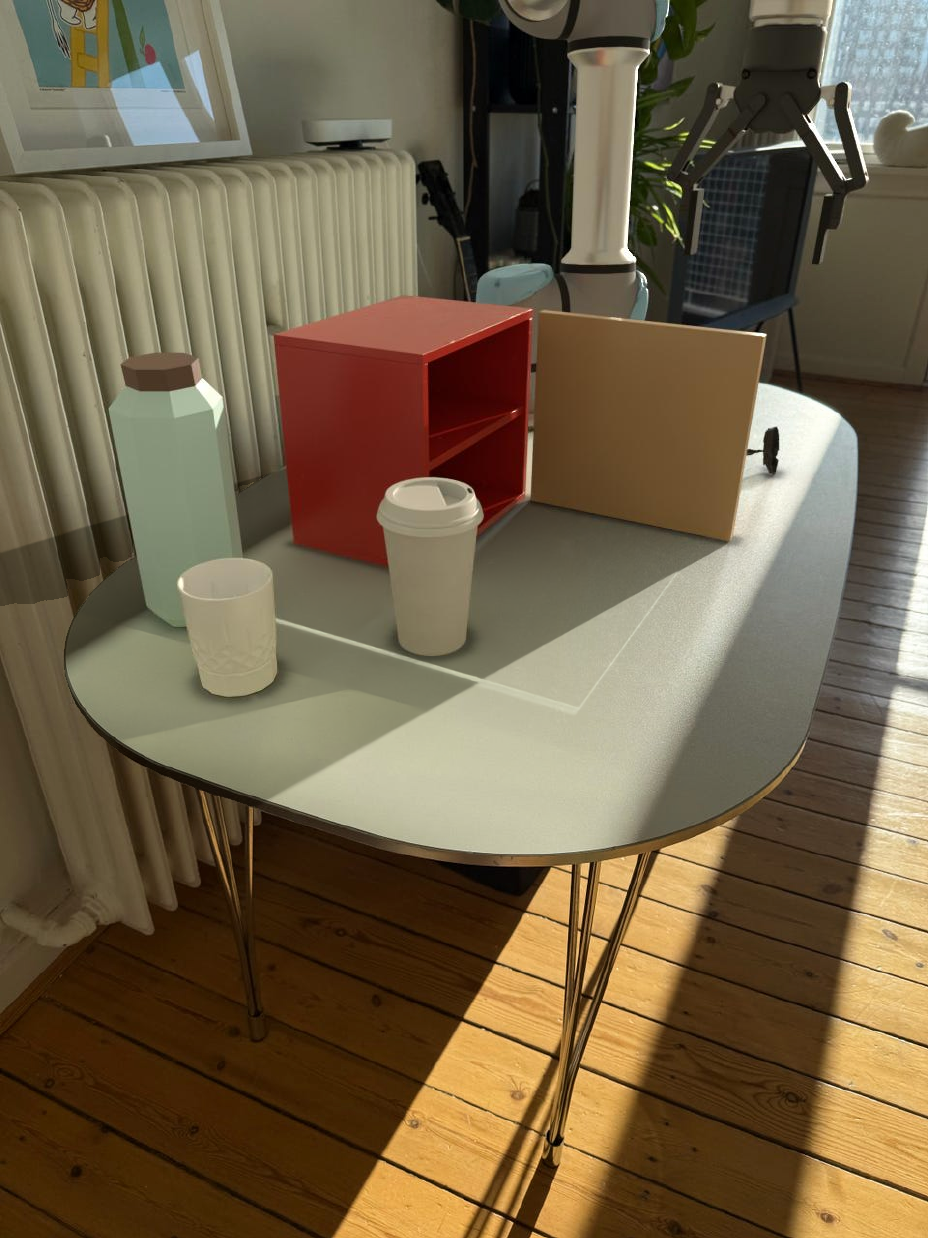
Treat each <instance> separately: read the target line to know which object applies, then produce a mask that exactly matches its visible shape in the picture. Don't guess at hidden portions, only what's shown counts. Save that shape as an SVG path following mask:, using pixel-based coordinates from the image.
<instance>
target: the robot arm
mask: <svg viewBox="0 0 928 1238" xmlns="http://www.w3.org/2000/svg"><path fill="white" fill-rule="evenodd" d="M833 1H834V0H750V7H749V11H748V19H749V21H750V22H753V27H750V28H749V29H748V31H747V32H746V35H745V44H744V50H743V58H742V65H741V74H740V77H739V81H738V82H737V85H736V86H731V85H725V84H723V83H721V82H711V83H709V84H708V85H707V88H706V91H705V97H704V101H703V105H702V108H701V110H700V112H699V114H698V115H697V117H696V119H695V121H694V123H693V125H692V126H691V129H690V130H689V132H688V134H687V135H686V137H685V139H684V141H683V143H682V145H681V146H680V148H679V150H678V152H677V153H676V155H675V157H674V159H673V161H672V162H671V165H670V166H669V168H668V170H667V172H666V175H665V178H666V180H667V181H668V182H670V183H673V184H676V185H678V187H680V190H681V196H680V206H679V213H678V216H679V221H680V222H687V223H686V232H685V240H684V249H683V256H692V255H695V254H697V252H698V245H699V237H700V229H701V220H702V211H703V204H704V196H705V188H698V186H699V184H700V183H701V182H702V181H703V180H704V178H705V177H707V175H708V174H709V173H710V172H711V171H712V170H713V169H714V168H715V166H716V165H717V164H718V163H719V162H720V161H721V160H722V159H723V158H724V157H725V155H726V154H727V153H728V152H729V151H730V150H731V149H732V148H733V146H735V144H736V143H737V142H738V141H739V140H740V139H741V138H742V137H743V136H744V135H745V134H746V133H747V132H748V131H750V132H751V133H753V134H767V133H773V134H777V135H779V134H780V135H786V134H789V133H790V134H791V133H792V132H794V131H795V132H796V134H797V135H798V137H799V138H800V139H801V141H802V142H803V144H804V147H806V149H807V151H808V152H809V155H810V156H811V157H812V159H813V161H814V162H815V164H816V166H817V167H818V170H819V171H820V172H821V174H822V176H823V178H824V179H825V181H826V183H827V184H828V186H829V188H830V189H831V191H832V193H827V194H825V195H823V199H822V206H821V212H820V217H819V221H818V227H817V233H816V238H815V243H814V249H813V254H812V259H811V265H818V266H819V265H820V264H822V263H823V262H824V258H825V253H826V247H827V242H828V235H829V231H830V230H835V231H836V230H838V229H839V228H840V226H841V224H842V221H843V216H844V212H845V206H846V201H847V197H848V195H849V194H850V193H851V192H854V191H858V190H861V189H863V188H865V187H866V186H867V185H868V184H869V182H870V178H869V174H868V170H867V166H866V162H865V158H864V155H863V151H862V148H861V144H860V140H859V136H858V132H857V129H856V125H855V122H854V118H853V113H852V110H851V102H852V101H851V100H852V85H851V83H849V82H847V81H841V82H838V83H837V84H832V85H831V84H830V85H822V84H821V71H822V65H823V60H824V59H823V58H824V53H825V47H826V42H827V35H828V30H826V29H827V28H826V26H824V24H823V21H827V20H828V19H829V18H830V17H831V12H832V7H833ZM498 3H499V5H500V7H501V9H502V11H503V13H504V14H505V16H506V17H507V19H508V20H509V21H510V22H511V23H512V24H513V25H514V26H515V27H516V28H517V29H519V30H521V31H522V32H524V33H526V34H528V35H529V36H533V37H535V38H539V39H543V40H544V39H545V40H558V41H559V40H560V41H567V53H566V55H567V57H566V58H567V59H568V60H569V61H570V62H571V63H572V65H573V66H574V67H575V69H576V74H577V76H576V105H575V129H574V130H575V132H574V133H575V134H574V157H573V159H574V160H573V185H572V187H573V188H572V189H573V191H572V217H571V218H572V219H571V245H570V249H569V251H568V252H567V253H566V254H565V255H564V256H563V257H562V259H561V260H560V273H554V271H553V268H552V266H551V265H549V264H546V263H537V262H535V263H519V264H511V265H505V266H501V267H497V268H494V269H492V270H489V271H487V272H486V273H484V274H483V275H482V276H481V277H480V278H479V280H478V281H477V285H476V294H475V303H484V304H493V305H503V306H512V307H522V308H531V309H533V317H532V318H533V325H532V349H531V373H530V397H529V421H528V431H529V430H530V431H531V430H534V408H535V386H536V363H537V341H538V318H539V312H540V311H543V310H549V311H559V312H568V313H577V314H586V315H596V316H605V317H614V318H623V319H633V320H642V321H645V319H646V315H647V310H648V306H649V289H648V287H647V286H648V282H647V278H646V276H645V275H644V273H642V272H641V271H639V270H637V268H636V265H637V264H636V263H637V258H636V257H635V256H633V254H632V253H631V252H630V251H629V249H628V237H629V221H630V219H629V217H630V201H631V187H632V186H631V185H632V170H633V153H634V152H633V151H634V137H635V136H634V133H635V118H636V104H637V103H636V101H637V83H638V69H639V68H640V66H641V64H642V63H643V62H644V61H645V60H646V59H647V58H648V57H649V55H650V48H651V47H650V46H651V43H653V42H654V41H657V40H658V39H659V38H660V36H661V35H662V33H663V31H664V29H665V26H666V18H667V17H668V14H669V7H670V0H498ZM732 99H733V102H734V104H735V105H736V107H737V110H738V111H739V115H737V117H735V119H734V120H733V121H732V122H731V123H730V125H729V126H728V127H727V129H726V130H725V131H724V132H723V134H722V135H721V136H720V137H719V138H718V139H717V141H716V142H715V143H714V144H713V145H712V146H711V147H710V148H709V149H708V151H707V152H706V153H705V154H704V155H703V156H702V157H701V158H700V160H699V161H698V162H697V163H696V164H695V165H694V166H693V167H692V169H690V171H689V172H686V171H687V170H688V167H690V165H691V162H692V161H693V160H694V158H695V155H696V154H697V152H698V151H699V148H700V147H701V145H702V143H703V142H704V139H705V138H706V136H707V134H708V133H709V131H710V129H711V128H712V126H713V123H714V122H715V120H716V118H717V116H718V115H719V113H720V109H724V108H725V107H727V105H728V103H729V102H730V100H732ZM821 99H823V100H825V102H826V103H825V104H826V107H827V108H828V109H830V110H833V114H834V119H835V124H836V127H837V131H838V134H839V137H840V138H839V139H840V142H841V145H842V149H843V152H844V156H845V160H846V163H847V166H848V170H849V174H850V178H846V177H845V175H844V174H843V172H842V170H841V169H840V167H839V165H838V164H837V162H836V161H835V159H834V157H833V156H832V154H831V153H830V152H831V151H829V149H828V147H827V145H826V143H825V142H824V140H823V138H822V136H821V135H820V134H819V132H818V130H817V128H816V125H815V123H814V122H813V121H812V118H811V117H810V115H809V114H810V113H811V112H812V110H813V109H814V108H815V107H816V106H817V105H818V104H819V102H820V101H821Z"/></svg>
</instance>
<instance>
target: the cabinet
mask: <svg viewBox="0 0 928 1238" xmlns="http://www.w3.org/2000/svg"><path fill="white" fill-rule="evenodd" d="M532 317H533V309H531V308H522V307H512V306H503V305H493V304H484V303H476V302H473V301H465V300H455V299H446V298H437V297H435V298H434V297H424V296H417V295H416V296H415V295H407V294H403V295H398V296H396V297H392V298H389V299H385V300H382V301H379V302H376V303H373V304H369V305H366V306H362V307H360V308H356V309H353V310H349V311H346V312H343V313H340V314H336V315H333V316H330V317H326V318H323V319H320V320H317V321H313V322H310V323H307V324H303V325H301V326H297V327H294V328H290V329H286V330H284V331H281V332H277V333H274V334H273V335H272V336H273V346H274V356H275V357H274V358H275V366H276V377H277V387H278V396H279V408H280V417H281V418H280V419H281V428H282V437H283V448H284V459H285V460H284V461H285V468H286V480H287V489H288V500H289V510H290V511H289V512H290V519H291V520H290V521H291V531H292V539H293V544H294V545H297V546H301V547H306V548H310V549H314V550H318V551H321V552H325V553H330V554H334V555H336V556H337V555H338V556H342V557H346V558H350V559H353V560H357V561H362V562H366V563H370V564H374V565H378V566H381V567H384V568H385V567H386V568H389V565H388V558H387V551H386V544H385V537H384V530H383V526H382V525H381V524H380V523H379V522H378V520H377V512H378V508H379V506H380V503H381V501H382V500H383V499H384V497H385V493H386V491H387V489H388V488H389V487H391V486H392V485H394V484H396V483H399V482H401V481H405V480H409V479H415V478H427V477H435V478H447V479H452V480H456V481H460V482H462V483H465V484H467V485H468V486H470V487H471V488H472V489H473V490H474V493H475V497H476V498H477V499H478V501H479V502H480V505H481V507H482V511H483V514H484V517H483V520H482V522H481V523H480V524H479V525H478V527H477V535H476V538H477V537H479V536H480V535H481V534H482V533H483V532H484V531H486V530H487V529H488V528H490V527H491V526H493V524H495V523H496V522H498V521H499V520H500V519H501V518H502V517H503V516H505V515H506V514H508V513H509V512H510V511H511V510H512V509H513V508H515V507H516V506H517V505H518V504H520V503H521V502H523V500H524V499H526V491H527V489H526V488H527V469H528V467H527V466H528V446H529V445H528V442H529V430H528V421H529V397H530V373H531V349H532V325H533V318H532Z"/></svg>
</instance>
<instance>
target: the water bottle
mask: <svg viewBox="0 0 928 1238" xmlns="http://www.w3.org/2000/svg"><path fill="white" fill-rule="evenodd" d="M120 368H121V373H122V376H123V377H122V378H123V382H124V385H125V386H124V387H123V389H122V390H121V391H120V392H119V393H118V395H117V396H116V398H115V399H114V400H113V402H112V403H111V404H110V406H109V407H108V414H109V419H110V424H111V429H112V430H111V431H112V435H113V440H114V446H115V451H116V457H117V460H118V465H119V466H118V467H119V471H120V476H121V480H122V481H121V482H122V487H123V491H124V497H125V502H126V507H127V513H128V518H129V523H130V528H131V534H132V539H133V543H134V550H135V554H136V559H137V565H138V570H139V575H140V580H141V586H142V589H143V596H144V601H145V605H146V607H147V609H149V611H151V612H152V613H154V615H155V616H157V617H158V618H159V619H161V620H163V621H164V622H165V623H167V624H169V625H170V626H171V627H174V628H187V626H186V622H185V618H184V614H183V609H182V605H181V600H180V596H179V592H178V587H177V581H178V579H179V577H180V576H181V575H182V574H183V573H184V572H185V571H186V570H188V569H190V568H191V567H193V566H196V565H198V564H201V563H204V562H207V561H211V560H216V559H223V558H244V555H243V546H242V537H241V531H240V523H239V516H238V509H237V508H238V507H237V500H236V492H235V483H234V477H233V468H232V461H231V454H230V453H231V452H230V445H229V438H228V430H227V422H226V421H227V420H226V415H225V406H224V398H223V396H222V395H221V394H220V393H219V392H218V391H217V390H216V389H215V388H213V386H211V385H210V384H209V383H208V382H207V381H206V380H205V379H204V378H203V374H202V369H201V363H200V358H199V357H198V356H196V355H192V354H189V353H186V352H151V353H147V354H146V353H145V354H140V355H136V356H129V357H127V359H125V360H124V361H123V362H121V363H120Z"/></svg>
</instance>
